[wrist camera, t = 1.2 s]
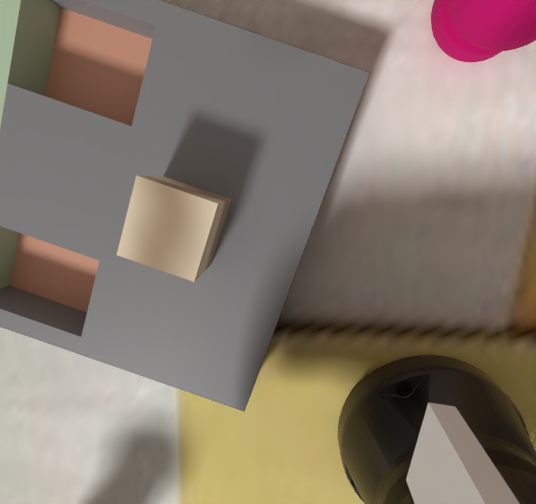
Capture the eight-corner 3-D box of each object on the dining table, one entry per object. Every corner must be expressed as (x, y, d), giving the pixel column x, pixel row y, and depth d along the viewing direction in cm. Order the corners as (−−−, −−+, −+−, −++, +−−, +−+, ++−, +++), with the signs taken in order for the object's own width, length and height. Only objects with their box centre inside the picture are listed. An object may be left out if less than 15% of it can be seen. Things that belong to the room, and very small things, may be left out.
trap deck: (358, 88, 27) (369, 72, 23) (250, 383, 32) (244, 411, 28) (-72, -61, 27) (-135, -102, 23) (-106, 259, 32) (-162, 270, 28)
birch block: (231, 199, 25) (218, 203, 21) (210, 265, 26) (194, 282, 22) (163, 176, 25) (136, 175, 21) (145, 242, 26) (116, 255, 22)
